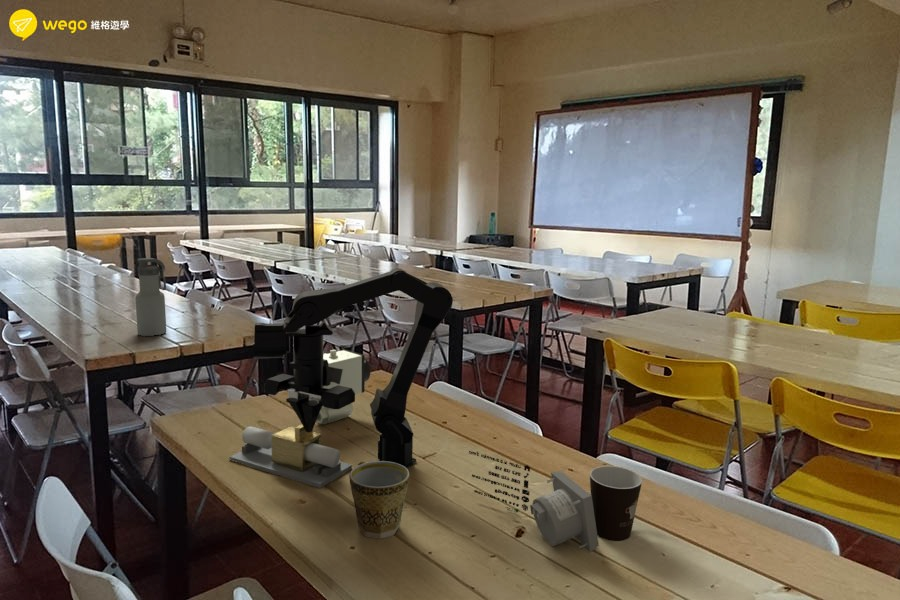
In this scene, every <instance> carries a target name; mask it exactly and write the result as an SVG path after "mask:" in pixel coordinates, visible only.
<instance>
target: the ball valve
mask: <svg viewBox="0 0 900 600" xmlns="http://www.w3.org/2000/svg"><path fill="white" fill-rule="evenodd" d="M323 359H325V360H327V361H328V366H329V367H334V368H339V369H343V371H342V376H341V381H340V384H337V383H335V382H331V384H330V385H328V386H323V388H326V389H330V388H333V387H335V386H337V385H339V386H344V387H349V388H352V389H353V390H354V392H355V396H356V395H361V394H363V393H365V391H366V390H365V388H366V382H367V381H369V379H370V377H371V366H370V363H369V362H368V360H367V359H366V358H365V354H362V353H359V352H355V351H352V350H349V349H343V350H340V351H338V350H336V349H332V350H331V349H330V350H329V353H326V352H325V353H323ZM353 411H354V408H353V403H351V404H349V405H347V406H345V407H343V408H340V409H331V408H326V407H324V406H322V408H321V410H320V412H319V414H318V417H317V420H316V423H317V424H321V425H322V424H323V425H327V424H330V423H333V422H337V421H339V420H344V419H346V418H348V417H349V416H351V415H352V414H353Z"/></svg>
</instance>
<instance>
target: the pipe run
mask: <svg viewBox="0 0 900 600" xmlns="http://www.w3.org/2000/svg"><path fill="white" fill-rule="evenodd" d="M273 434H275V432H273V431H270V430H265V429H262V428H258V427H255V426H251V425H250V426H247V427H246V428H245V429H244V430H243V432H242V435H241V436H242V437H241V439H242V442H243V443H244V445H241V451H239V452H236V453H234V454H232V455H230V456H229V457H228V458H229V460H230V459H231V460H234V461H237V462H239V463H238V464H240V463H243V464H245V465H244V466H247V465H248V467H250V466H251V467H250V468H254V469H256V468H257V469H256V470H261V471H263V472H266V473H269V474H273V475H276V476H279V475H280V477H282V476H283V477H284V478H286V477H287V478H286V479H290V480H293V481H296V482H300V483H302V484H306V485H309V486H312V487H316V488H319V489H322V488H323V487H324V486H327V485H328V484H329V483H331V482H332V481H334V480H336V479H337V478H339V477H340V476H342V475H344V474H345V473H347V472H350V470H352V469H353V465H352V464H350V463H348V462H347V463H346V462H343V461H340V459H341V453H340V450H339V449H337V448H333V447H330V446H325V445H322V444H321V445H319V444H315V443H309V444H307V445H305V460H307V461H310V462H314V463H316V464H314V465H313V466H311V467H309V468H307V469H305V470H304V471H300V470H297V469H294V468H290V467H287V466H283V465H280V464H277V463H273V462H272V439H271V435H273ZM234 461H233V462H234ZM237 462H236V463H237ZM243 464H242V465H243Z"/></svg>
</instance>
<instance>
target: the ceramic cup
mask: <svg viewBox="0 0 900 600" xmlns="http://www.w3.org/2000/svg"><path fill="white" fill-rule="evenodd" d="M350 470H351V471H349V477H348V478H349V483H350V490H351V491H350V492H351V496H352V500H353V504H354V511H355V515H356V522H357V526H358V529H359V530H360V532H361V533H362V534H363V535H364V536H365V537H367V538H373V539H381V540H382V539H385V538H389V537H392V536H394V535H395V534H396V532H397V531H398V529H399V527H400V524H401V518H402V515H403V514H402V513H403V507H404V505H405V504H404V503H405V499H406V494H407V491H408V487H409V482H410V481H409V480H410V472H409V470H408V468H405V467H404V466H402V465H400V464H397V463H394V462H388V461H379V460H377V461H375V460H374V461H369V462H365V461H360V462H358V465H357V466H355V467H354V468H352V469H350Z"/></svg>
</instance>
